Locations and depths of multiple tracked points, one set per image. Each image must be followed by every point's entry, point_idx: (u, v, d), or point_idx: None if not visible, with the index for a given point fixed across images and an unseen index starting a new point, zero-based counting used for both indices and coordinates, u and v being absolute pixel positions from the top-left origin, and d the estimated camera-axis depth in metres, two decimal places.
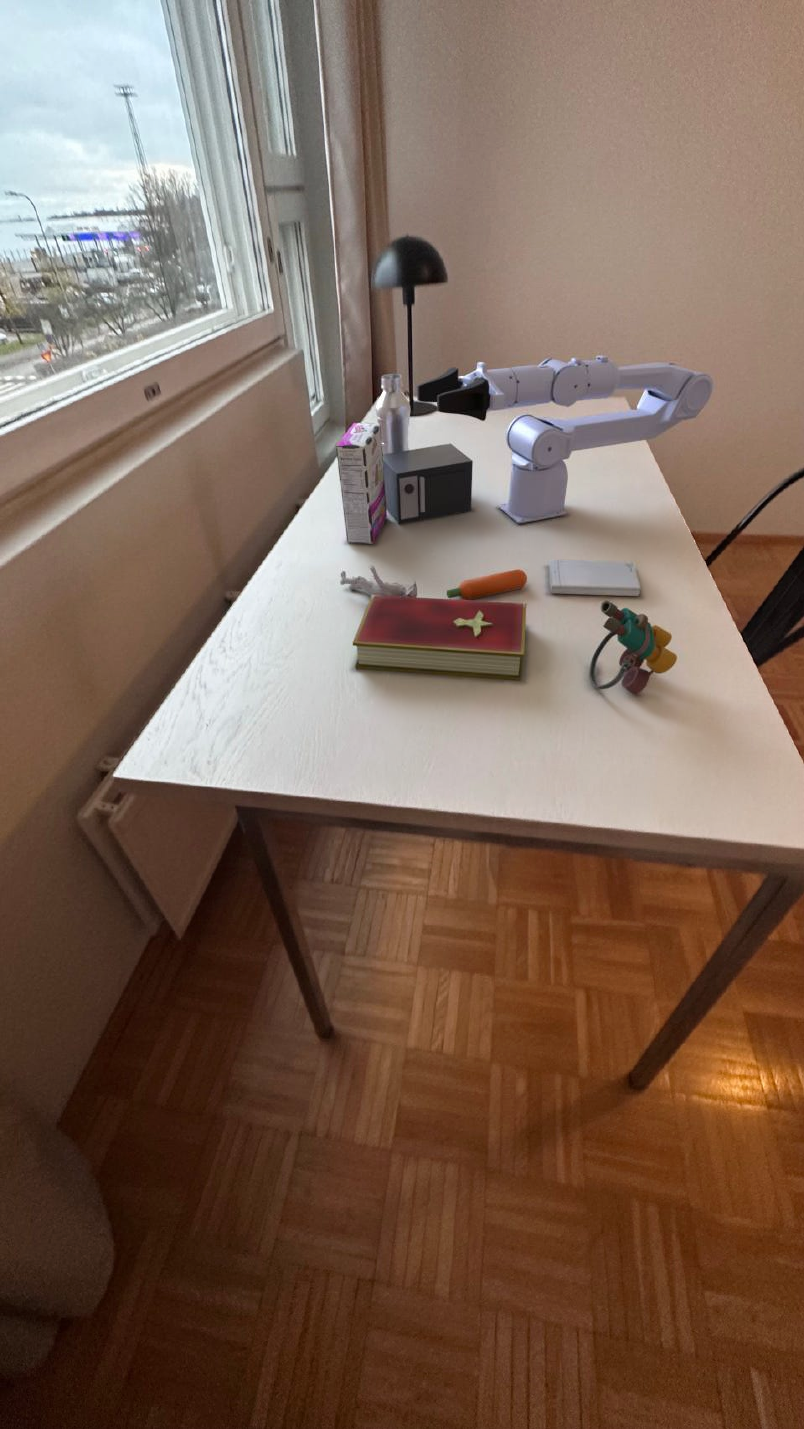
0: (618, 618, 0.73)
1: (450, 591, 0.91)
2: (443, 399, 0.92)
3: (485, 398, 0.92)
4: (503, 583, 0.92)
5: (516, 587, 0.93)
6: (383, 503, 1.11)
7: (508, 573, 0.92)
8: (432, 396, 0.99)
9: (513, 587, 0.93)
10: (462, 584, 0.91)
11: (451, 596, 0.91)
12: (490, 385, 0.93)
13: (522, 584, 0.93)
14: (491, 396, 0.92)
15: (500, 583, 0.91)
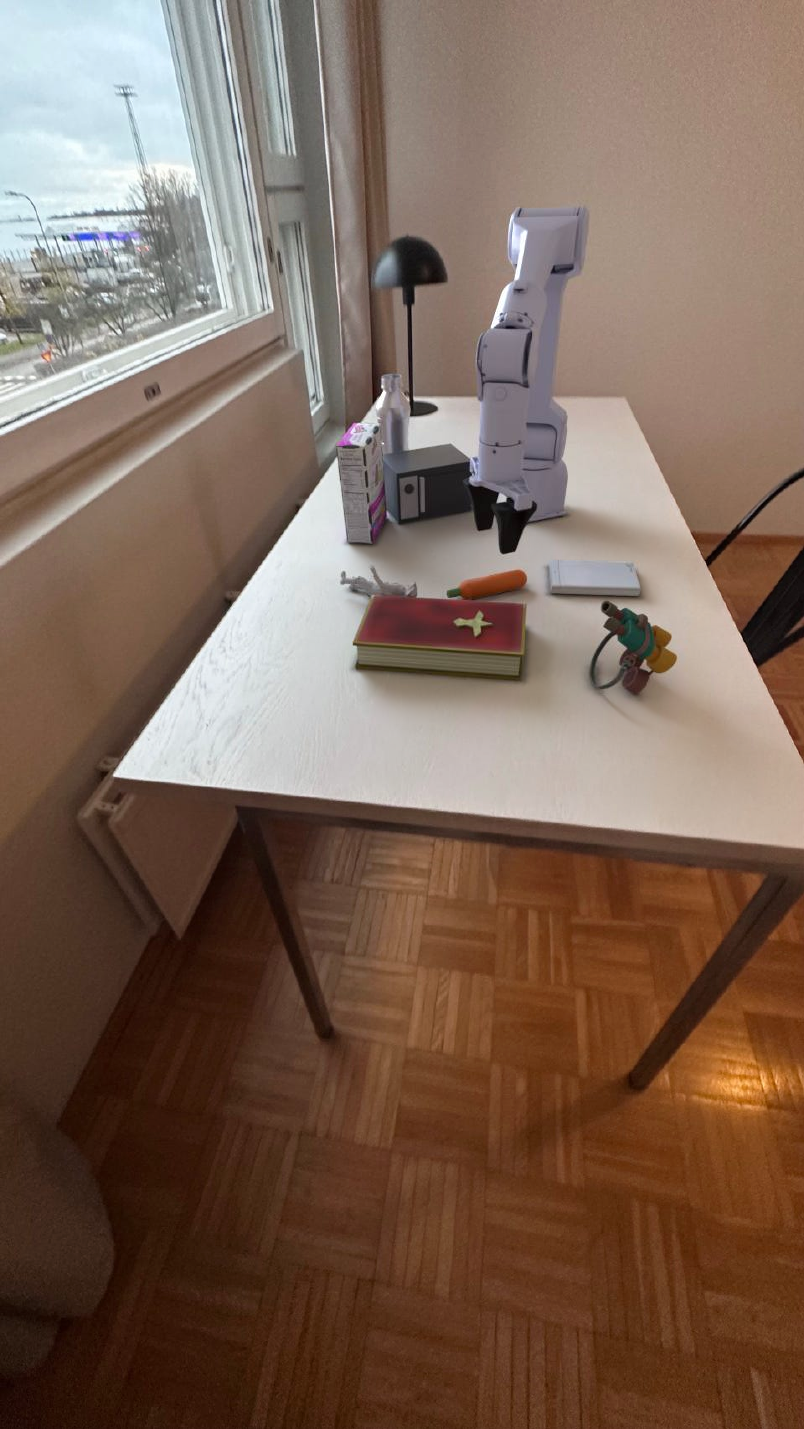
0: (618, 618, 0.73)
1: (450, 591, 0.91)
2: (505, 549, 0.84)
3: (516, 512, 0.79)
4: (503, 583, 0.92)
5: (516, 587, 0.93)
6: (383, 503, 1.11)
7: (508, 573, 0.92)
8: (489, 513, 0.89)
9: (513, 587, 0.93)
10: (462, 584, 0.91)
11: (451, 596, 0.91)
12: (501, 493, 0.79)
13: (522, 584, 0.93)
14: (516, 508, 0.78)
15: (500, 583, 0.91)
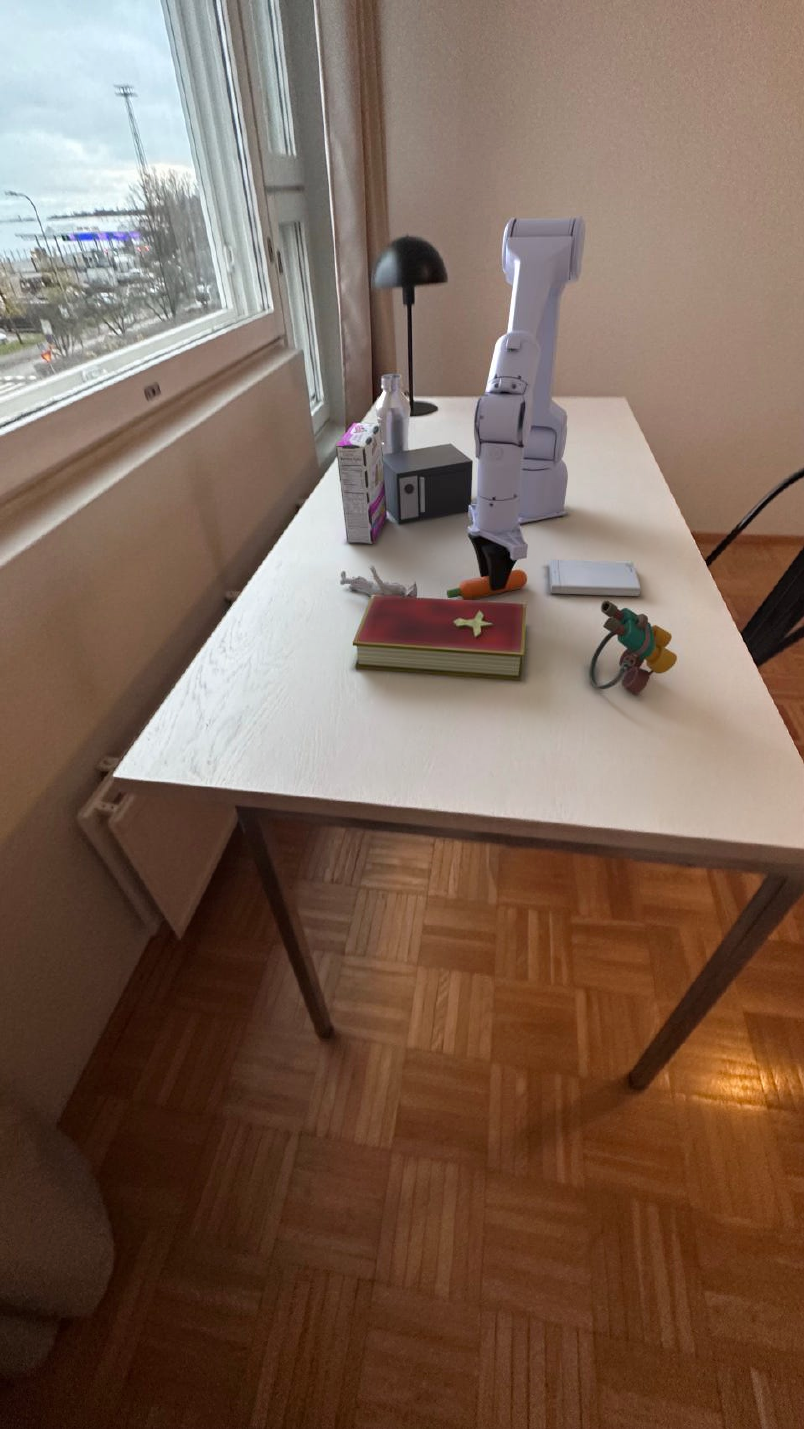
0: (618, 618, 0.73)
1: (450, 591, 0.91)
2: (495, 586, 0.90)
3: (504, 554, 0.85)
4: None
5: (516, 587, 0.93)
6: (383, 503, 1.11)
7: None
8: None
9: (513, 587, 0.92)
10: (462, 584, 0.91)
11: (451, 596, 0.91)
12: (498, 543, 0.84)
13: (522, 584, 0.93)
14: None
15: None
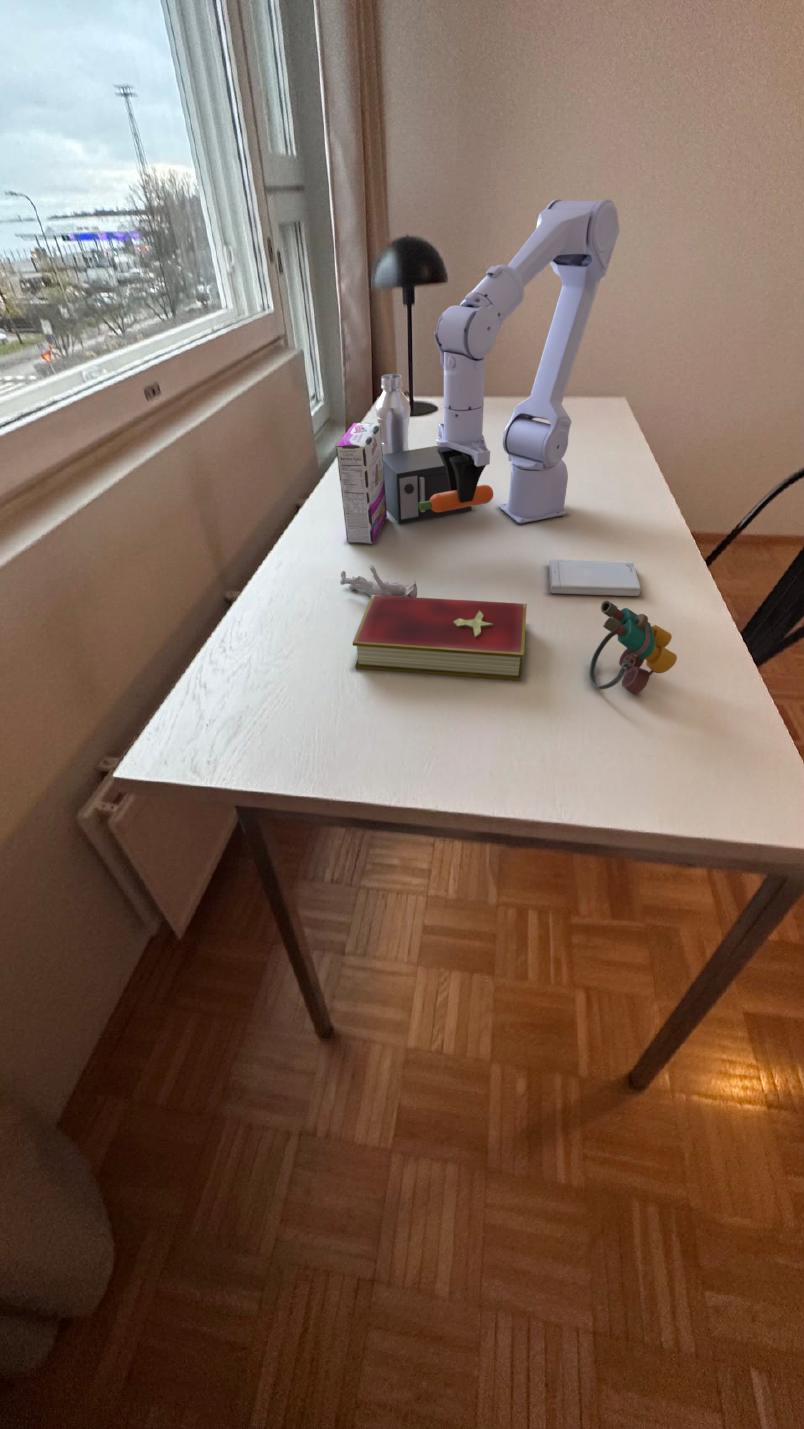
0: (618, 618, 0.73)
1: (421, 503, 0.98)
2: (463, 498, 0.98)
3: (470, 463, 0.92)
4: None
5: (483, 501, 1.00)
6: (383, 503, 1.11)
7: None
8: None
9: (480, 501, 1.00)
10: (432, 497, 0.98)
11: (422, 508, 0.98)
12: (463, 452, 0.91)
13: (488, 498, 1.00)
14: None
15: None
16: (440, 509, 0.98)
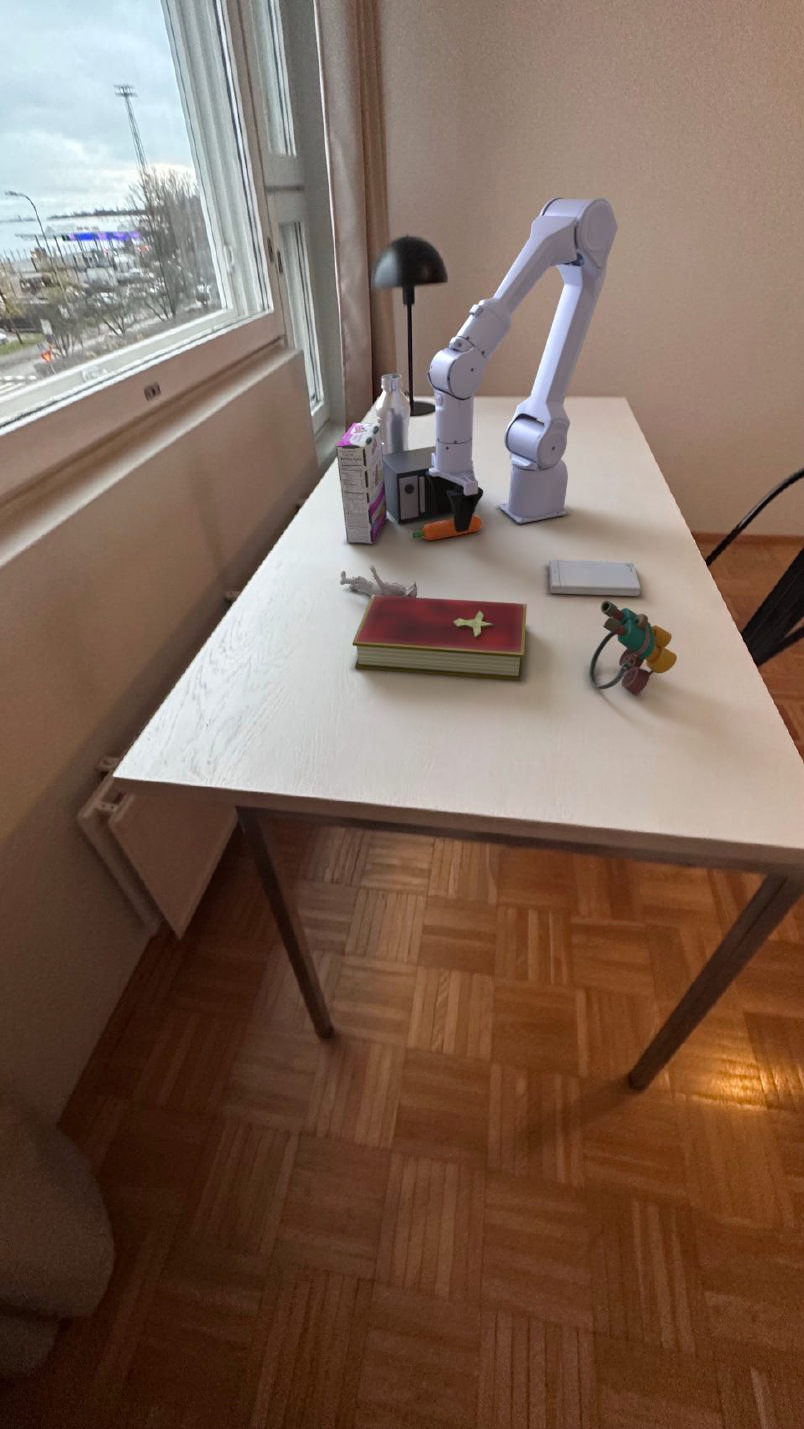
0: (618, 618, 0.73)
1: (414, 532, 1.05)
2: (459, 528, 1.03)
3: (465, 497, 0.98)
4: None
5: (472, 529, 1.08)
6: (383, 503, 1.11)
7: None
8: (448, 499, 1.08)
9: (469, 529, 1.07)
10: (425, 526, 1.06)
11: (415, 536, 1.06)
12: (453, 481, 0.98)
13: (477, 527, 1.07)
14: (465, 494, 0.97)
15: None
16: (432, 537, 1.06)
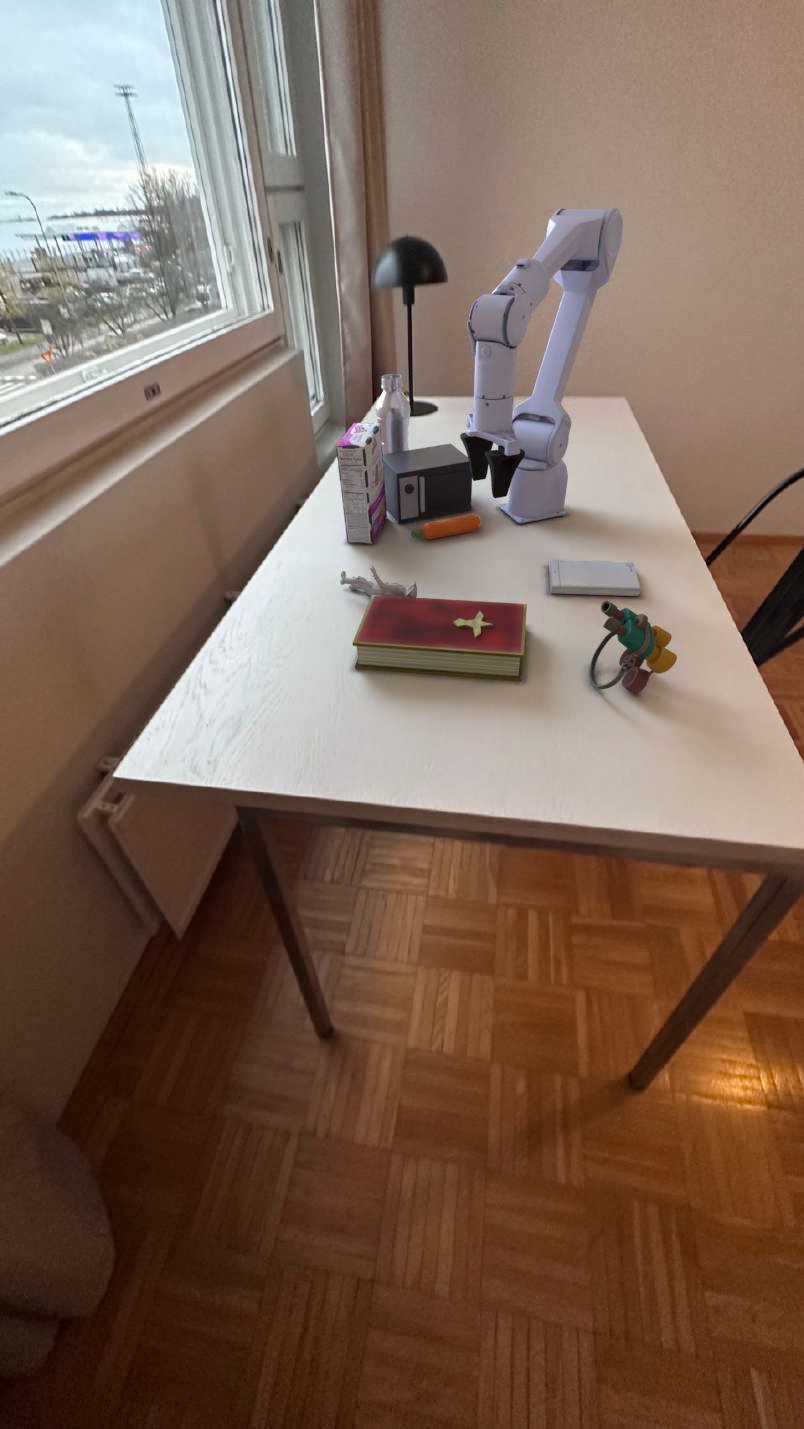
0: (618, 618, 0.73)
1: (413, 530, 1.06)
2: (497, 493, 0.96)
3: (506, 458, 0.91)
4: (458, 521, 1.07)
5: (471, 526, 1.08)
6: (383, 503, 1.11)
7: None
8: (483, 464, 1.01)
9: (468, 525, 1.07)
10: (423, 525, 1.06)
11: (414, 534, 1.06)
12: (493, 441, 0.91)
13: (476, 523, 1.08)
14: (506, 454, 0.90)
15: (455, 521, 1.07)
16: (431, 533, 1.06)
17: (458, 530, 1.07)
